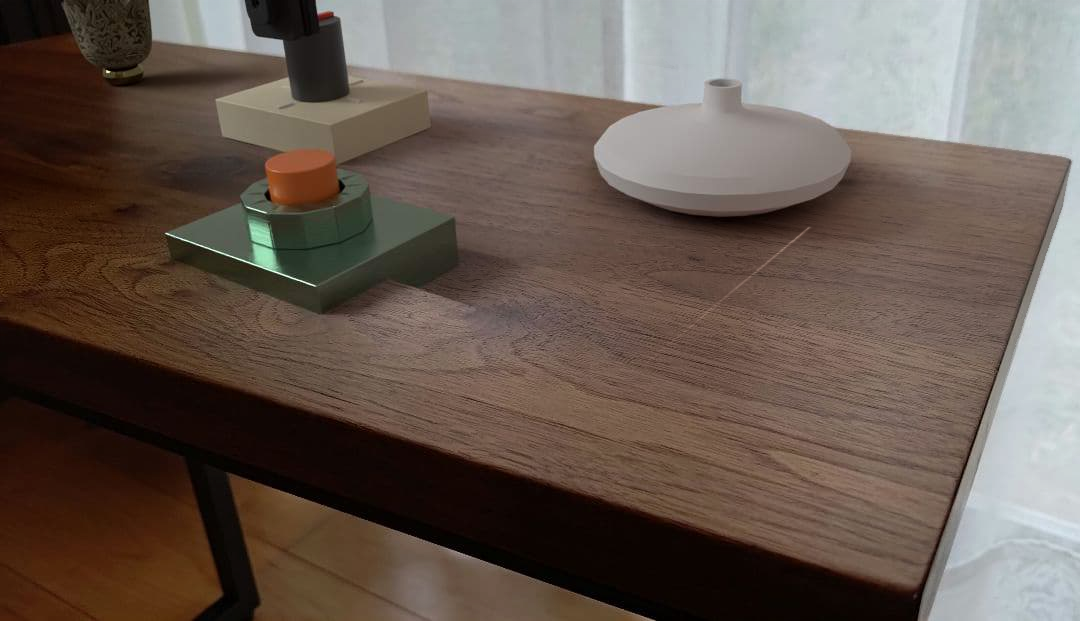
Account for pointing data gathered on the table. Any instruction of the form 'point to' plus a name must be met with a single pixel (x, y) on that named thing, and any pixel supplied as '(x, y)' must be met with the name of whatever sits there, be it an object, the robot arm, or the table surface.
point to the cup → (112, 36)
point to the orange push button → (302, 177)
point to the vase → (722, 155)
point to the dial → (318, 63)
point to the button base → (319, 244)
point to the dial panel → (325, 118)
